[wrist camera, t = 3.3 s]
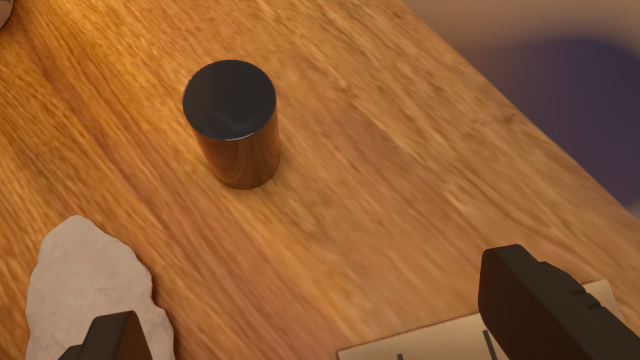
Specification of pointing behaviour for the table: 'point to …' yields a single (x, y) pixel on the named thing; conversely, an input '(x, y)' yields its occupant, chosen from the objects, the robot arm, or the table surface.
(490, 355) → the board
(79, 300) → the stone tool
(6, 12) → the mug
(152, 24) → the table surface
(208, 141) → the dark brown cylinder
